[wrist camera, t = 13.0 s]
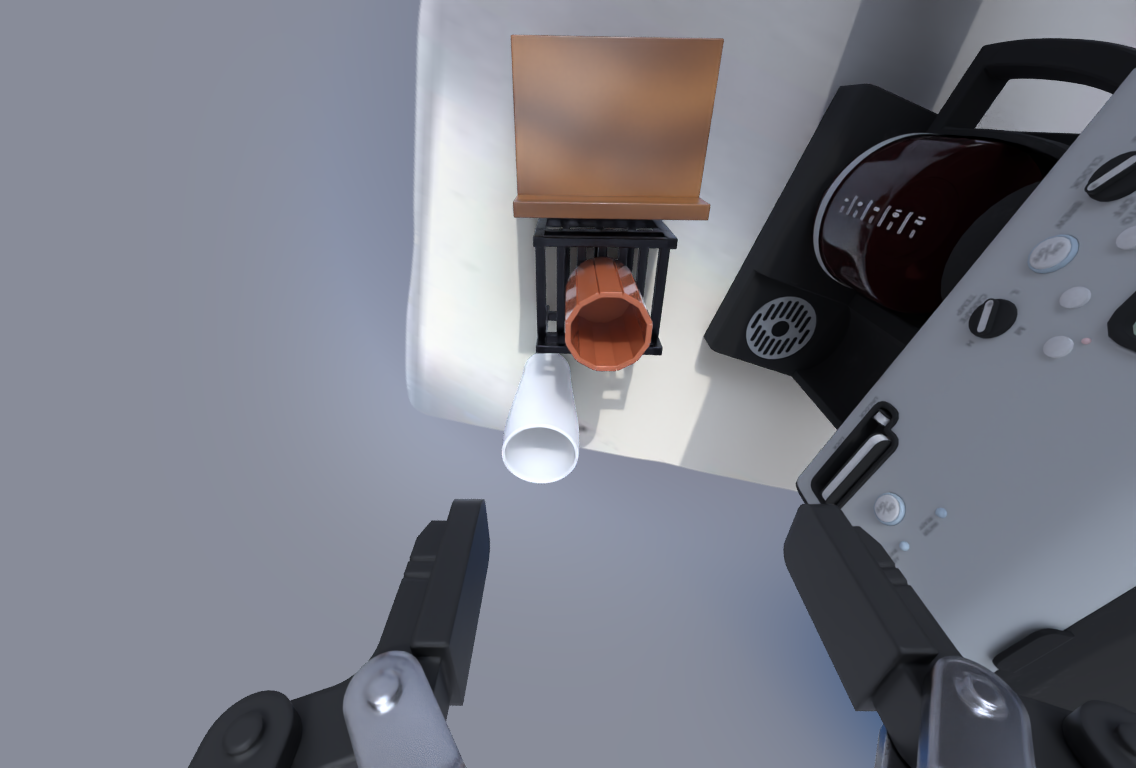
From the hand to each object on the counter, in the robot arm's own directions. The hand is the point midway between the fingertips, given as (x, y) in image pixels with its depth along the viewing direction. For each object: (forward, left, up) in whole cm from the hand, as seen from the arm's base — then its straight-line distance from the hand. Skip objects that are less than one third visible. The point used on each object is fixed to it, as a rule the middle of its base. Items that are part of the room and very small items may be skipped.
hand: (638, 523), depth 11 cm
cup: (+4, +1, -28) cm, 29 cm away
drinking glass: (+16, -4, -36) cm, 40 cm away
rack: (+4, +1, -36) cm, 36 cm away
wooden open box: (-8, +1, -36) cm, 37 cm away
